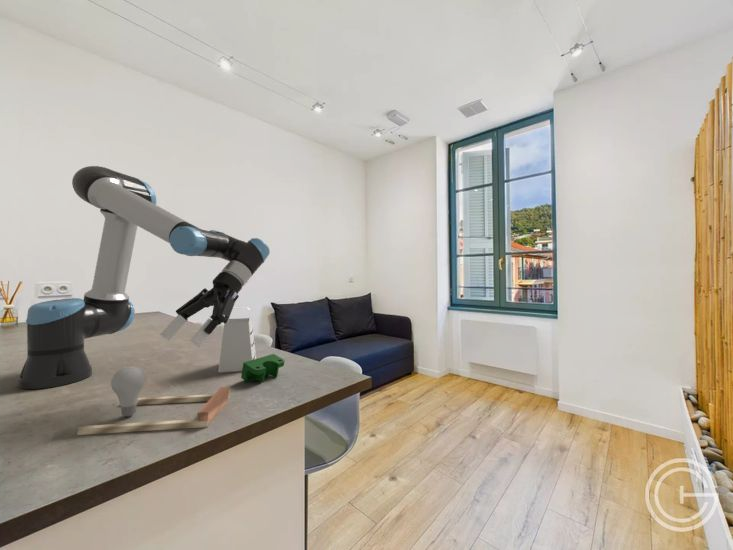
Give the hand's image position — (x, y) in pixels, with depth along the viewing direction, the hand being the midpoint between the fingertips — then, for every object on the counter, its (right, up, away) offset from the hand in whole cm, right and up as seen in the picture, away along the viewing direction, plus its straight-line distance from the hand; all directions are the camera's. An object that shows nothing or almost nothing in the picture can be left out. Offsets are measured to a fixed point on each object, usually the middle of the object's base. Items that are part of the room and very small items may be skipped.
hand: (178, 340), depth 76 cm
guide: (+1, -15, -8) cm, 17 cm away
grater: (+4, -15, +27) cm, 31 cm away
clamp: (+16, -15, +15) cm, 27 cm away
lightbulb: (-5, -15, -9) cm, 18 cm away
